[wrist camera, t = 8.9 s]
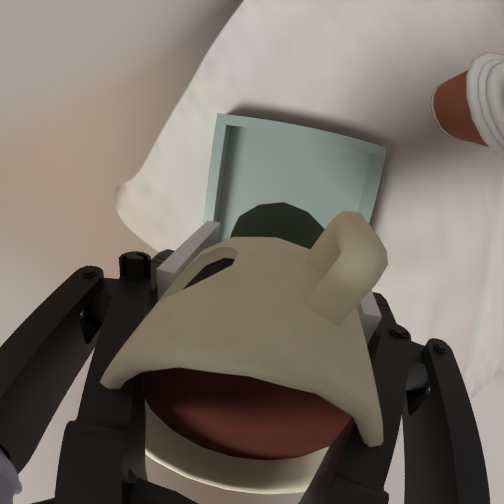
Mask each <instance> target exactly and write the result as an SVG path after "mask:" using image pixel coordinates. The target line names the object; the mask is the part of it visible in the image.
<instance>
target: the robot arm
mask: <svg viewBox="0 0 504 504" xmlns="http://www.w3.org/2000/svg"><path fill="white" fill-rule="evenodd" d="M219 230H220V223H219V222H213V221H207V222H206V223H205V224H204V225H202V226H201V227H200V228H199V229H198V230H197V231H196V232H195V233H194V234H193V235H192V236H191V237H189V238H188V239H187V240H186V241H185V242H184V243H183V244H182V245H181V246H180V247H179V248H178V249H177V250H176V251H173V250H169V249H167V250H164V251H162V252H159V253H158V254H157V255H156V256H155V257H154V258H152V259H151V257H150V256H149V255H148V254H146V253H144V252H138V251H135V252H127V253H124V254H122V255H121V256H120V257H119V266H120V278H119V279H112V278H104V275H103V270H102V269H101V268H99V267H96V266H85V267H83V268H80V269H78V270H77V271H76V272H74V273H73V274H72V275H71V276H70V277H69V278H68V279H67V280H66V281H65V282H63V283H62V284H61V285H60V286H59V287H58V288H57V289H56V290H55V291H54V292H53V293H52V294H51V295H50V296H49V297H48V298H47V299H46V300H45V301H44V302H43V303H42V304H41V305H40V306H39V307H38V308H37V309H36V310H35V311H34V312H33V313H32V314H31V315H30V316H29V317H28V318H27V319H26V320H25V321H24V322H23V323H22V324H21V325H20V326H19V327H18V328H17V329H16V330H15V331H14V333H13V334H12V335H11V336H10V337H9V338H8V339H7V340H6V341H5V343H4V344H3V345H2V346H1V347H0V504H13V501H12V500H13V495H14V494H19V493H20V492H21V490H22V485H21V483H20V481H19V477H18V474H19V473H20V472H21V471H22V469H23V468H24V467H25V465H26V464H27V463H28V461H29V460H30V458H31V456H32V455H33V453H34V451H35V449H36V448H37V445H38V444H39V442H40V440H41V438H42V436H43V434H44V432H45V430H46V428H47V426H48V425H49V423H50V421H51V419H52V417H53V416H54V414H55V412H56V410H57V408H58V407H59V405H60V403H61V401H62V400H63V398H64V396H65V395H66V393H67V391H68V390H69V388H70V386H71V385H72V383H73V381H74V379H75V378H76V376H77V375H78V373H79V371H80V370H81V368H82V367H83V365H84V363H85V362H86V360H87V359H88V357H89V356H90V354H91V352H92V351H93V349H94V348H95V350H94V353H93V356H92V360H91V363H90V367H89V371H88V374H87V378H86V382H85V386H84V390H83V394H82V399H81V403H80V407H79V412H78V416H77V419H76V420H75V421H69V422H68V424H67V425H66V428H65V431H64V436H63V441H62V446H61V452H60V458H59V465H58V472H57V480H56V489H55V498H52V499H48V500H45V501H41V502H36V503H32V504H198V503H196V502H194V501H192V500H190V499H188V498H187V497H185V496H183V495H181V494H179V493H178V492H176V491H173V490H170V489H167V488H164V487H161V486H158V485H156V484H153V483H151V482H148V480H147V474H146V466H145V436H146V408H145V397H144V392H143V387H142V381H141V376H140V373H139V374H137V375H136V376H134V377H132V378H131V379H129V380H127V381H125V383H124V384H123V386H122V387H121V389H108V388H106V387H105V386H103V385H102V384H101V383H100V380H101V378H102V376H103V374H104V373H105V371H106V369H107V368H108V366H109V365H110V363H111V362H112V360H113V359H114V357H115V356H116V354H117V353H118V352H119V350H120V349H121V348H122V347H123V345H124V344H125V343H126V341H127V340H128V339H129V337H130V336H131V335H132V334H133V332H134V331H135V330H136V328H137V327H138V326H139V325H140V323H141V322H142V321H143V320H144V318H145V317H146V316H147V315H148V314H149V312H150V311H151V310H152V309H153V308H154V306H155V305H156V304H157V302H158V301H159V300H160V298H161V297H162V296H163V295H164V293H165V292H166V291H167V289H168V288H169V287H170V286H171V284H172V283H173V282H174V281H175V280H176V279H177V278H178V277H179V276H180V274H181V273H182V272H183V271H184V270H185V268H186V267H187V266H188V265H189V264H190V263H191V262H192V261H193V260H194V259H195V258H196V257H197V256H198V254H199V253H200V252H202V251H203V250H205V249H206V248H209V247H211V246H213V245H216V244H218V239H219ZM357 310H358V313H359V317H360V320H361V324H362V328H363V332H364V336H365V340H366V344H367V348H368V352H369V357H370V361H371V365H372V370H373V374H374V379H375V384H376V389H377V394H378V399H379V404H380V410H381V415H382V421H383V442H382V444H381V445H379V446H373V447H369V446H368V445H367V444H365V443H364V442H363V439H362V437H361V434H360V432H359V429H358V427H357V425H356V422H355V420H354V418H353V417H352V418H351V419H350V421H349V422H348V423H347V425H346V426H345V427H344V429H343V430H342V431H341V433H340V434H339V435H338V436H337V438H336V439H335V440H334V441H333V443H332V444H331V445H330V446H329V448H328V450H327V452H326V454H325V456H324V458H323V460H322V462H321V464H320V466H319V468H318V470H317V472H316V474H315V475H314V477H313V479H312V481H311V483H310V485H309V486H308V488H307V490H306V492H305V494H304V495H303V497H302V499H301V500H300V502H299V503H298V504H388V501H389V494H388V493H387V492H385V491H384V484H385V481H386V477H387V474H388V470H389V467H390V463H391V460H392V456H393V452H394V448H395V444H396V440H397V435H398V431H399V426H400V421H401V416H402V420H403V435H404V454H405V498H404V504H490V496H489V486H488V480H487V472H486V467H485V461H484V455H483V450H482V446H481V441H480V437H479V433H478V428H477V425H476V421H475V417H474V414H473V410H472V407H471V403H470V400H469V397H468V394H467V390H466V387H465V384H464V381H463V379H462V376H461V373H460V370H459V367H458V365H457V362H456V359H455V357H454V354H453V352H452V350H451V348H450V346H449V345H447V343H446V342H443V340H439V339H435V338H432V339H429V340H428V342H427V344H426V345H425V346H423V345H420V344H418V343H415V342H413V341H411V335H410V333H409V332H408V331H407V330H406V329H405V328H404V327H402V326H400V325H398V324H397V323H396V321H395V319H394V316H393V314H392V312H391V309H390V307H389V305H388V303H387V300H386V299H385V298H384V297H383V296H382V295H381V294H380V293H375V292H372V290H370V292H369V293H368V294H367V295H366V296H365V297H364V299H363V300H362V301H361V302H360V303H359V304H358V305H357ZM80 314H81V315H80ZM429 388H430V391H429Z"/></svg>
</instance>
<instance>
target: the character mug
mask: <svg viewBox="0 0 504 504" xmlns="http://www.w3.org/2000/svg"><path fill="white" fill-rule="evenodd" d="M228 236H229V235H228ZM227 238H228V237H227ZM387 265H388V259H387V251H386V249H385V247H384V245H383V243H382V241H381V240H380V238H379V236H378V235H377V234H376V232H375V231H374V230H373V228H372V227H371V226H370V225H369V223H368V222H367V221H366V219H365V218H364V217H363V216H362V214H361V213H359V212H353V211H342V212H341V213H340V214H338V215H337V216H336V217H335V218H334V219H333V220H332V221H331V222H330V223H329V224H328V226H327V227H326V228H325V229H324V228H323V227H322V226H321V225H320V224H319V223H318V222H317V221H316V220H315V218H314V217H313V216H312V215H311V214H310V213H309V212H307V211H305V210H302V209H300V208H297V207H295V206H293V205H290V204H288V203H285V202H279V203H269V204H259V205H257V206H256V207H254V208H252V209H251V210H249V211H247V212H245V213H244V214H242V215H240V216H239V218H238V220H237V221H236V224H235V226H234V228H233V230H232V232H231V235H230V238H229V239H226V240H225V241H223V242H220V243H218V244H216V245H213V246H211V247H209V248H206V249H205V250H203V251H202V252H200V253H199V254H198V256H197V257H196V258H195V259H194V260H193V261H192V262H191V263H190V264H189V265H188V266H187V267H186V268H185V270H184V271H183V272H182V273H181V274H180V276H179V277H178V278H177V279H176V280H175V281H174V282H173V283H172V284H171V286H170V287H169V288H168V289H167V291H166V292H165V293H164V295H163V296H162V297H161V298H160V300H159V301H158V302H157V304H156V305H155V306H154V308H153V309H152V310H151V311H150V312H149V314H148V315H147V316H146V317H145V318H144V320H143V321H142V322H141V323H140V325H139V326H138V327H137V328H136V330H135V331H134V332H133V334H132V335H131V336H130V337H129V339H128V340H127V341H126V343H125V344H124V345H123V347H122V348H121V349H120V350H119V352H118V353H117V354H116V356H115V357H114V359H113V360H112V362H111V363H110V365H109V366H108V368H107V369H106V371H105V373H104V374H103V376H102V378H101V380H100V383H101V384H102V385H103V386H105V387H106V388H108V389H121V387H122V386H123V384H124V383H125V381H127V380H129V379H131V378H132V377H134V376H136V375H137V374H139V373H140V376H141V381H142V387H143V392H144V397H145V408H146V436H145V454H147V455H148V456H149V457H150V458H152V459H153V460H155V461H157V462H158V463H160V464H162V465H164V466H166V467H167V468H169V469H171V470H173V471H175V472H177V473H179V474H181V475H183V476H185V477H187V478H190V479H193V480H196V481H199V482H203V483H206V484H209V485H212V486H216V487H220V488H223V489H227V490H234V491H241V492H249V493H260V494H281V493H282V494H283V493H298V492H306V490H307V488H308V486H309V485H310V483H311V481H312V479H313V477H314V475H315V474H316V472H317V470H318V468H319V466H320V464H321V462H322V460H323V458H324V456H325V454H326V452H327V450H328V448H329V446H330V445H331V444H332V443H333V441H334V440H335V439H336V438H337V436H338V435H339V434H340V433H341V431H342V430H343V429H344V427H345V426H346V425H347V423H348V422H349V421H350V419H351V418H352V417H353V418H354V420H355V422H356V425H357V427H358V429H359V432H360V434H361V437H362V439H363V442H364V443H365V444H367V445H368V446H369V447H373V446H379V445H381V444H382V442H383V421H382V415H381V410H380V404H379V399H378V394H377V389H376V384H375V379H374V374H373V370H372V365H371V361H370V357H369V352H368V348H367V344H366V340H365V336H364V332H363V328H362V324H361V320H360V317H359V313H358V310H357V305H358V304H359V303H360V302H361V301H362V300H363V299H364V297H365V296H366V295H367V294H368V293H369V292H370V290H371V289H372V288H373V287H374V286H375V285H376V283H377V282H378V280H379V279H380V277H381V275H382V274H383V272H384V270H385V268H386V267H387Z"/></svg>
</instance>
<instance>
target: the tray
mask: <svg viewBox="0 0 504 504" xmlns="http://www.w3.org/2000/svg"><path fill="white" fill-rule="evenodd" d="M386 153H387V147H384V146H380V145H377V144H374V143H370V142H367V141H363V140H359V139H356V138H352V137H348V136H344V135H340V134H336V133H332V132H328V131H323V130H319V129H314V128H310V127H305V126H300V125H295V124H289V123H284V122H278V121H272V120H266V119H259V118H252V117H244V116H236V115H227V114H218V113H217V120H216V126H215V133H214V140H213V147H212V154H211V162H210V170H209V178H208V186H207V195H206V204H205V213H204V222H203V225H204V224H205V223H206V222H207V221H213V222H219V223H220V230H219V239H218V243H220V242H223V241H225V240H226V239H229V238H230V235H231V232H232V230H233V228H234V226H235V224H236V221H237V220H238V218H239V216H240V215H242V214H244V213H245V212H247V211H249V210H251V209H252V208H254V207H256V206H257V205H259V204H269V203H279V202H285V203H288V204H290V205H293V206H295V207H297V208H300V209H302V210H305V211H307V212H309V213H310V214H311V215H312V216H313V217H314V218H315V220H316V221H317V222H318V223H319V224H320V225H321V226H322V227H323V228H324V229H325V228H326V227H327V226H328V224H329V223H330V222H331V221H332V220H333V219H334V218H335V217H336V216H337V215H338V214H340V213H341V212H342V211H353V212H359V213H361V214H362V216H363V217H364V218H365V219H366V221H367V222H368V223H369V222H370V219H371V215H372V212H373V208H374V204H375V200H376V196H377V192H378V188H379V184H380V180H381V176H382V171H383V167H384V162H385V157H386ZM228 235H229V236H228ZM227 237H228V238H227Z"/></svg>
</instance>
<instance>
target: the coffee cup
mask: <svg viewBox="0 0 504 504" xmlns="http://www.w3.org/2000/svg"><path fill="white" fill-rule="evenodd" d="M431 110H432V114H433V117H434V120H435V121H436V123H437V125H438V126H439V128H440V129H441V130H442V131H443V132H444V133H446V134H447V135H448V136H450V137H453V138H456V139H461V140H465V141H469V142H473V143H477V144H481V145H484V146H488V147H490V148H491V150H492V151H493V152H494V153H495V154H496V155H498V156H501V157H503V158H504V56H503V55H502V54H496V53H484V54H482V55H480V56H479V57H477V58H476V59H474V60H473V61H472V63H471V65H470V68H469V70H467V71H465V72H464V73H462V74H460V75H458V76H456V77H454V78H452V79H450V80H448V81H446V82H444V83H442V84H440V85H439V86H437V87H436V88H435V90H434V92H433V94H432V96H431Z"/></svg>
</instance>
